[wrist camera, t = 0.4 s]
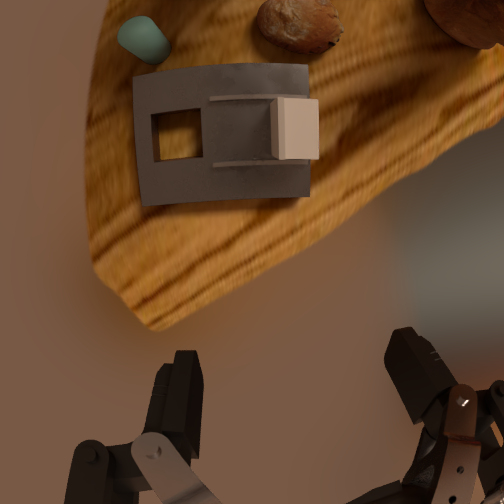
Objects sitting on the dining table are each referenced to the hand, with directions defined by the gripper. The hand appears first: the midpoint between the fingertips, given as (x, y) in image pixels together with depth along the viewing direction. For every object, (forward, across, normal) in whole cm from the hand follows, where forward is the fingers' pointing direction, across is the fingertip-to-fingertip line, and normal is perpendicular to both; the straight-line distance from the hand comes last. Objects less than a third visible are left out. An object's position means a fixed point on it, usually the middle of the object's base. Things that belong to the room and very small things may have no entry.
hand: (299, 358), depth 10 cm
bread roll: (+28, -7, -23) cm, 37 cm away
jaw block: (+24, -4, -8) cm, 26 cm away
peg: (+27, +12, -20) cm, 36 cm away
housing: (+27, +4, -8) cm, 28 cm away
